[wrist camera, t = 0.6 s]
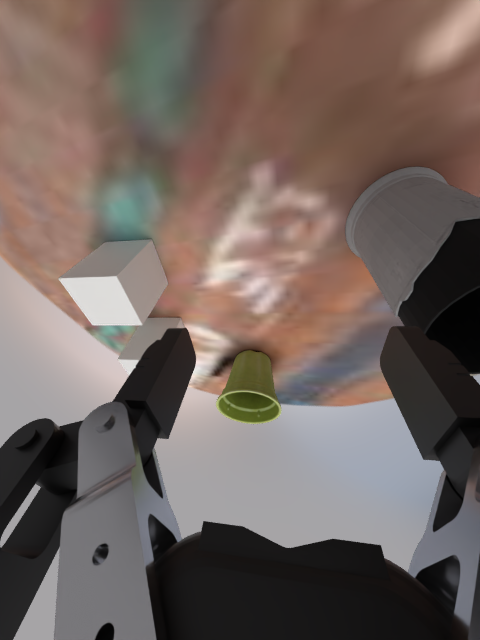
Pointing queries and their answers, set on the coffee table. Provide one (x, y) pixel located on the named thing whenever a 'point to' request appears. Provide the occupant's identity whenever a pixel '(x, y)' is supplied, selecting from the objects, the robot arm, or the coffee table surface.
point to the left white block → (117, 282)
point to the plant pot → (250, 390)
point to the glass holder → (424, 255)
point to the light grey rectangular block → (146, 339)
